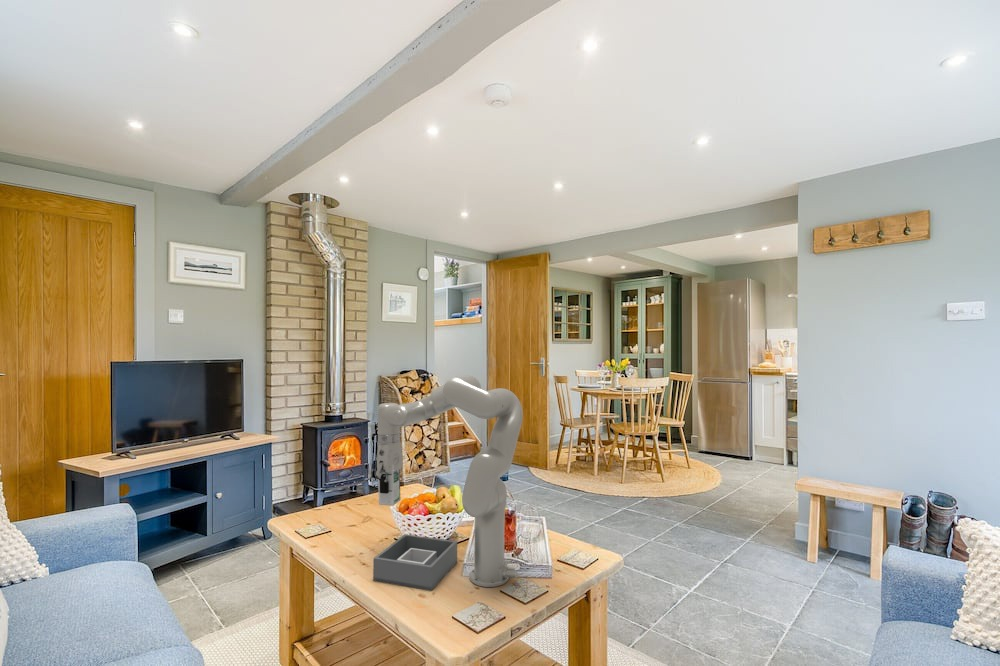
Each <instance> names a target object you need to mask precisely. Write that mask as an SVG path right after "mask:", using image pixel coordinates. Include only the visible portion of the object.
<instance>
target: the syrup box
mask: <svg viewBox="0 0 1000 666" xmlns="http://www.w3.org/2000/svg"><path fill="white" fill-rule="evenodd" d="M400 471H401V468H400V469H399V470H396V471H394V468H393V472H392V473H390V474H389V475H388V480H387V481H389V493H387V494H386V493H380V482H379V479H378V478H377V481H378V483H377V486H378V506H379V505H380V506H388V507H389V506H393V507H394V506H395V505H396V504H397V503H399V502H400V501H401V477H400V475H401V473H400ZM382 472H385V471H384V470H382ZM383 476H384V477H385V474H383Z"/></svg>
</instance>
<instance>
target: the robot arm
mask: <svg viewBox="0 0 1000 666" xmlns="http://www.w3.org/2000/svg"><path fill="white" fill-rule="evenodd" d="M520 401H521V400H520V399H519V398H518V397H517V395H516V394H515V393H514V392H513V391H511V390H509V389H507V388H501V387H500V388H499V387H498V388H493V389H490V390H484V389H482V386H481V383H480V380H478V379H477V378H476V377H475V376H473V375H468V374H467V375H459V376H454V377H450V378H449V379H448V380H446V381H445V383H444V384H442V385H440V386H437V387H435V388H433V389H432V390H431V392H430V395H427V396H426V397H423V398H421V399H419V400H416V401H411V402H407V403H402V404H398V403H396V402H384V403H380V404H378V406H377V444H378V445H377V451H376V452H377V453H376V471H375V476H376V478H377V480H378V479H379V482H380V493H386V494H387V493H389V481H387V480H388V475H389V474H390V473H392V472H393V468H394V471H396V470H399V469H400V470H401V469H402V468H403V451H402V450H403V449H402V443H401V438H400V437H401V436H400V435H401V434H400V433H401V432H400V431H401V430H400V428H401V427H402V428H403V427H407V426H411V425H415V424H419V423H421V422H424V421H427V420H429V419H431V418H434V417H436V416H438V415H441V414H444V413H445V412H448V411H450V410H452V409H455V408H458V409H460V410H462V411H464V412H465V413H468V414H470V415H472V416H474V417H477V418H479V419H482V420H492V419H494V418H496V421H495V423H494V425H493V428H492V430H491V433H490V439H489V441H488V444H487V447H486V448H485V449H483V450H481V451H480V452H478V453H477V454H476V455H475V456H473V458H472V459H471V462H470V463H469V464H470V465H469V467H468V471H467V475H466V478H465V483H464V486H463V490H462V495H461V505H462V507H463V508H462V509H464V511H465V513H466V514H467V515H468V516H470V517H471V518H472V517H473V518H474V568H473V569H471V570H470V572H469V580H470V581H471V583H473V584H474V585H475V586H479V587H484V588H493V587H494V588H496V587H500V586H502V585H504V584H506V583H507V582H508V581H509V579H510V578H513V579H517V578H518V577H517V576H518V571H517V570H516V568H515V567H510V566H508V561H505V528H506V527H505V520H506V519H505V518H506V517H505V516H506V515H505V514H506V506H507V499H508V491H507V487H506V484H505V482H504V481H503V480H502V479H501V478H502V477H503V476H505V475H506V474H508V472H509V471H510V470H511V466H512V464H513V460H514V456H515V453H516V452H515V451H516V447H517V445H518V444H517V443H518V439H519V435H520V431H521V428H522V423H523V418H524V416H523V415H524V414H523V412H524V411H523V406H522V403H521V402H520ZM382 470H384V471H385V472H382ZM383 474H385V477H384V476H383Z"/></svg>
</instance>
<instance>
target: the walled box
mask: <svg viewBox="0 0 1000 666" xmlns="http://www.w3.org/2000/svg"><path fill="white" fill-rule="evenodd" d="M372 561H373V562H372V563H373V564H372V565H373V566H372V567H373V568H372V571H373V572H372V578H373V579H372V581H373V582H379V583H385V584H389V585H390V584H391V585H396V586H400V587H401V586H402V587H407V588H412V589H419V590H423V591H429V592H431V591H432V590H434V589H435V587H437V585H438V584H439V583H440V582H441V581H442V580H443V578H445V576H446V575H447V574H448V573H449V572H450V571H451V570H452V568H453V567H455V566H456V564H457V563H458V541H457V540H450V539H442V538H437V537H436V538H435V537H429V536H428V537H427V536H419V535H415V534H413V535H412V534H407V533H404V534H403V535H401V537H399V538H398V539H397V540H395V541H394V542H393V543H391V544H390V545H388V546H387V547H386V548H385V549H384V550H382V551H380V553H378V554H377V555H376V556H375V557H373V560H372Z"/></svg>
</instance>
